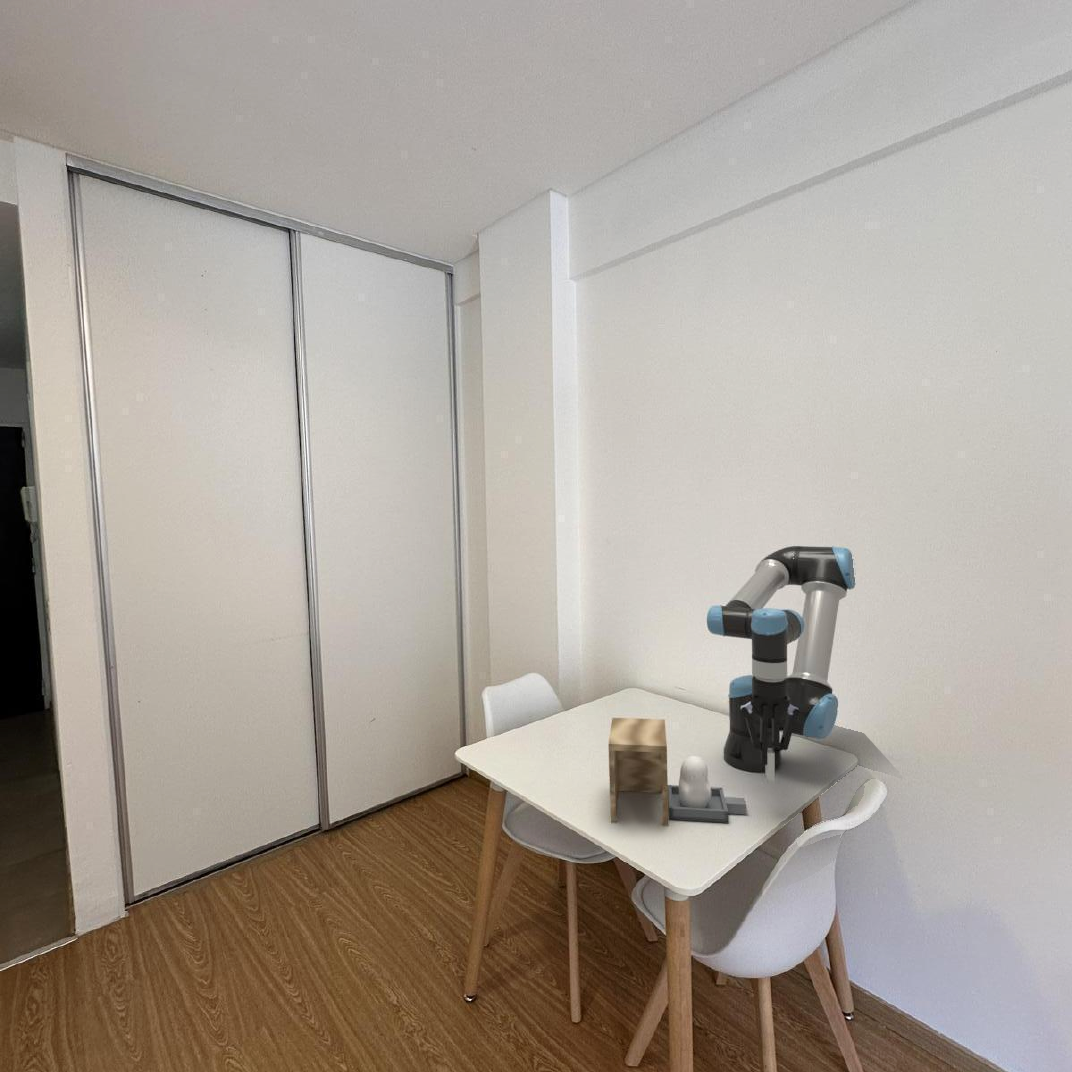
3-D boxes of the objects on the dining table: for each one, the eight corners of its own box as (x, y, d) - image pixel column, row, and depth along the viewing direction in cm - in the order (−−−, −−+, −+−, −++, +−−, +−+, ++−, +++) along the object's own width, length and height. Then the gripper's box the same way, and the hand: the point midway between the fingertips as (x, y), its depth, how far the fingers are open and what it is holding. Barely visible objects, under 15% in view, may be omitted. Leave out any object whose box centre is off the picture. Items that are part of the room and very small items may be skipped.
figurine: (683, 814, 137) (682, 763, 136) (674, 797, 145) (673, 749, 144) (714, 812, 137) (713, 761, 137) (703, 795, 145) (702, 747, 144)
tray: (741, 799, 144) (741, 788, 144) (749, 824, 133) (749, 812, 133) (667, 795, 147) (667, 784, 147) (669, 819, 137) (669, 808, 137)
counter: (666, 790, 150) (664, 719, 149) (668, 825, 134) (666, 746, 133) (614, 788, 152) (612, 717, 151) (610, 822, 137) (608, 743, 135)
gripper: (795, 673, 138) (796, 772, 139) (737, 671, 140) (737, 769, 142) (804, 683, 131) (804, 787, 132) (742, 681, 133) (743, 784, 134)
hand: (770, 777), depth 137 cm, fingers closed
